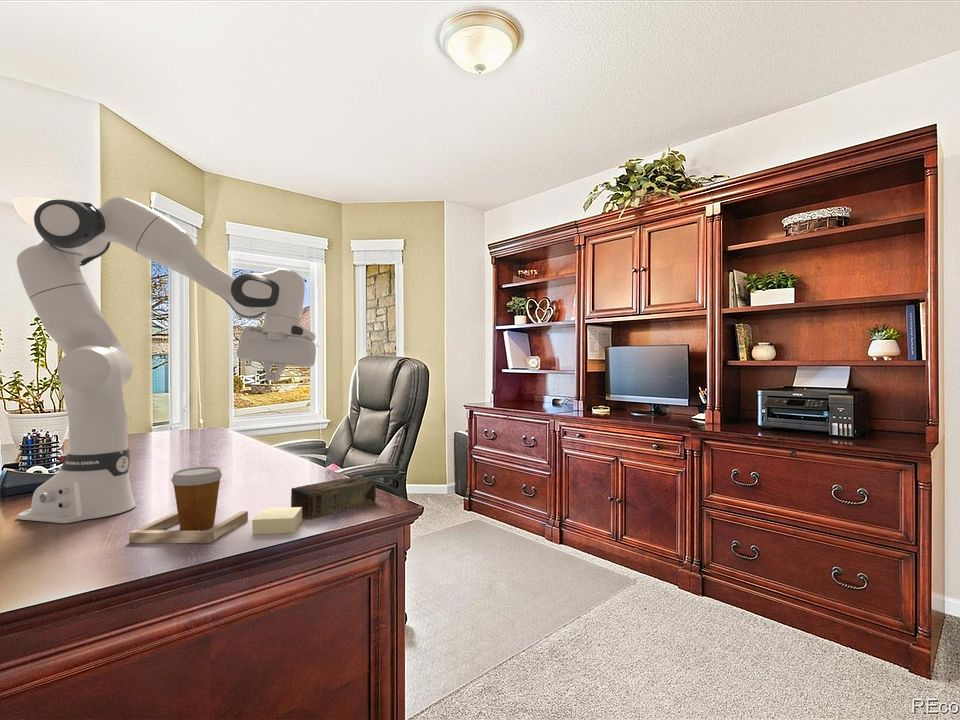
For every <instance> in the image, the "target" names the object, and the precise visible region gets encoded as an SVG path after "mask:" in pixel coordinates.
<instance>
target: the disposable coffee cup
mask: <svg viewBox="0 0 960 720" xmlns="http://www.w3.org/2000/svg"><path fill="white" fill-rule="evenodd" d="M222 476H223V473H222V472H221V468H220V467H218V466H196V467H188V468H182V469H179V470H178V469H177V470H175V471H174V472H173V475H172V477H171V479H170V481H171V482H172V485H173V488H174V489H173V490H174V497H175V502H176V509H177V510H176V511H178V517H179V523H178V524H179V531H199V530H202V531H205V530H208V529H210V527H211V528H212V526H213V525H214V526H215V522H216V521H215V519H216V515H217V514H216V511H217V506H218V505H217V504H218V497H219V489H220V482H221V479H222ZM214 526H213V527H214ZM207 528H208V529H207ZM204 529H205V530H204Z"/></svg>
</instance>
